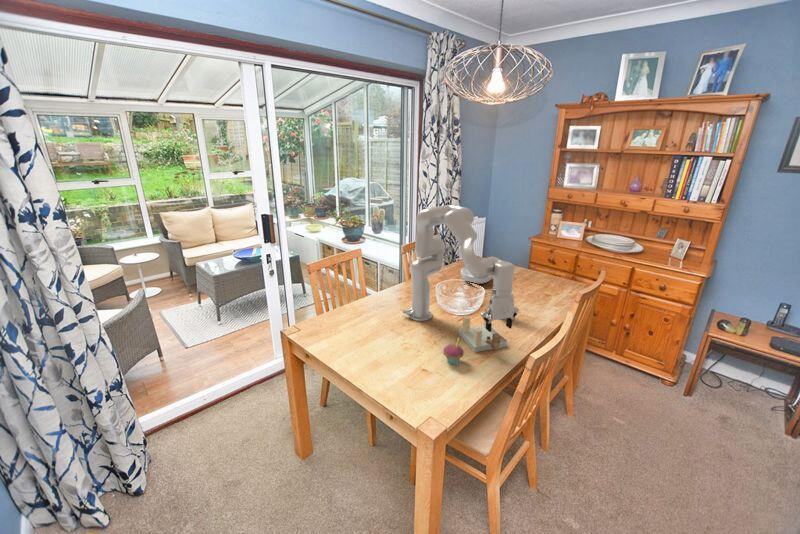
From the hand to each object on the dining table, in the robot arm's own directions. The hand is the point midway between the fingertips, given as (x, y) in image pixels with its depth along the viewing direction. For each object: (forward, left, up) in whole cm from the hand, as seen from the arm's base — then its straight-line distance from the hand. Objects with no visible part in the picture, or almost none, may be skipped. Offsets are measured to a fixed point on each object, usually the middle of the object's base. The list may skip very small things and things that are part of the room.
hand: (498, 328), depth 149 cm
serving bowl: (+32, +79, -13) cm, 86 cm away
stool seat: (0, +12, -13) cm, 18 cm away
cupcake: (-20, +1, -13) cm, 24 cm away
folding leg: (0, +3, -10) cm, 11 cm away
